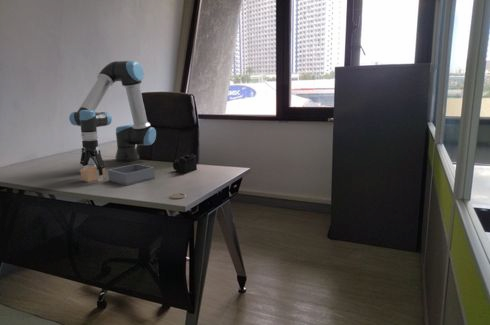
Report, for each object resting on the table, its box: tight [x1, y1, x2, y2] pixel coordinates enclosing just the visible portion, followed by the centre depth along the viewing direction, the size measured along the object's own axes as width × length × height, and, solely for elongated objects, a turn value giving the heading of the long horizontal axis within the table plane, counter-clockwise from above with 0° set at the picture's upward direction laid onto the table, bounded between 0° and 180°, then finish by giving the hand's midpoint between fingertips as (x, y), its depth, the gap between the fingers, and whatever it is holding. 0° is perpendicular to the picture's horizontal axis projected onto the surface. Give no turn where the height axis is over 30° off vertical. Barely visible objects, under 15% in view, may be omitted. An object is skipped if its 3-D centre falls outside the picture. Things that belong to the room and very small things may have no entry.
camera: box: [172, 153, 198, 175], centre depth 210 cm, size 14×11×10 cm
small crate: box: [80, 167, 107, 184], centre depth 193 cm, size 10×7×6 cm
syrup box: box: [88, 146, 100, 168], centre depth 210 cm, size 6×6×14 cm
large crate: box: [107, 163, 156, 186], centre depth 192 cm, size 18×16×6 cm
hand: (93, 179), depth 194 cm, fingers open, 13 cm apart
